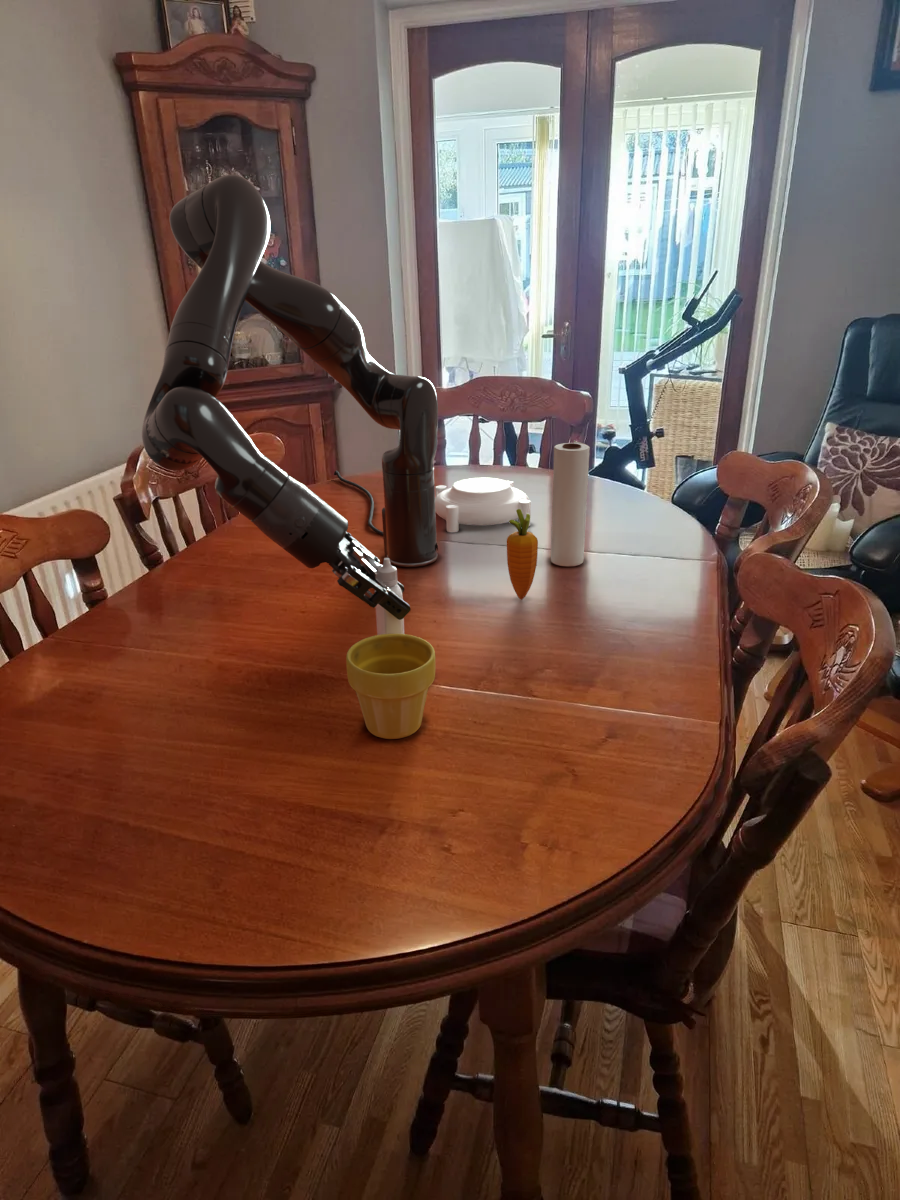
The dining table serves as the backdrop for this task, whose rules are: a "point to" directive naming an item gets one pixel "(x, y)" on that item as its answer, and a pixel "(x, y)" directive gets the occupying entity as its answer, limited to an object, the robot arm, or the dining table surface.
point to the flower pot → (391, 682)
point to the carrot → (521, 555)
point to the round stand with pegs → (480, 502)
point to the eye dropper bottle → (383, 617)
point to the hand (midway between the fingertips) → (402, 603)
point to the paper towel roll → (569, 503)
